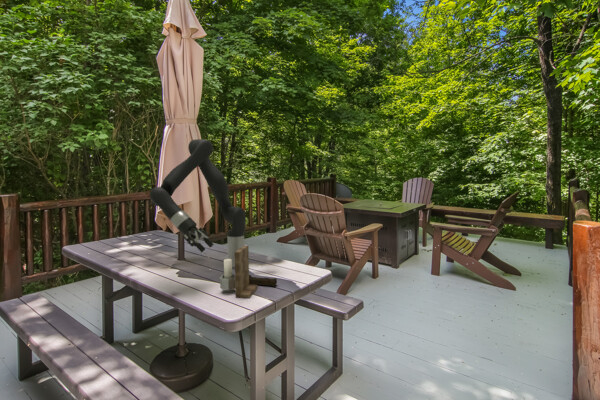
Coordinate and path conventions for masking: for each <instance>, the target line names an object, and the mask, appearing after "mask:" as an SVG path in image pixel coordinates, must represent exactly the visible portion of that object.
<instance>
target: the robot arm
mask: <svg viewBox="0 0 600 400" xmlns="http://www.w3.org/2000/svg"><path fill="white" fill-rule="evenodd" d="M213 151H214V145H213V144H212V142H211V141H210V140H207V139H199V138H197V139H196V138H195V139H192V140H191V141H190V142H189V143H188V152H189V154H190V155H189V157H187V158H186V159H184V161H181V162H180V164H178V165H177V166H175V167H174V168H173V169H171V170H170V172H169V173H168V174H167V175H166V176H165V178H163V181H162V184H161V185H160V186H155V187H153V188H152V189H151V190H150V192H149V198H150V200H151V203H152V204H153V205H154V206H156V207H159V208H160V210H162V212H163V214H164V216H165V217H166V218H167V219H168V220H170V222H171V223H172V225H173V226H174V227H175V228H176V229H177V230H178V231H179V232H180V233H181V234H182V236H183V239H184V240H185V241H186V243H187V244H189V246H190V247H193V246H194V247H196V249H198V250H199V251H200V253H203V252H204V251H206V248H205V247H204V246H203V245H202V244H201V242H200V241H203V242H204V243H205V244H206V245H207V246H208V247H209V248H212V247H214V243H213V242H212V241H211V239H209V238H210V235H209V234H208V233H207V231H206V230H205V229H203V227H199V228H198V227H197V222H195V220H193V219H192V217H191V216H190V215H189V214H188V213H187V212H186V211H184V210H183V209H182V208H181V206H180V205H178V204H177V202H175V201H174V199H173V198H172V196H173V194H174V192H175V191H176V190H177V189H178V187H179V186H180V185H181V184H182V183H183V182H184V181H185V180H186V179H187V177H188V176H189V175H190V174H191V173H193V171H194V170H195V169H196V168H199V169H200V172H201V173H202V175H203V178H204V179H205V181H206V183H207V185H208V187H209V189H210V191H211V192H212V194H213V196H214V198H215V200H216V202H217V204H218V206H219V208H220V212H221V214H222V216H223V218H224V220H225V221H226V222H227V223H230V224H232V228H230V229H228V230H227V233H226V234H227V235H226V237H227V259H232V268H235V252H236V251H237V250H239V249H240V248H241V247H243V246H245V230H246V220H247V219H246V218H247V217H246V211H245V210H244V208H242V207H237V206H233V204H232V203H231V200H230V197H229V192H230V191H229V190H230V189H229V184H228V182H227V179H226V177H225V175H224V173H222V172H221V170H219V169H218V168H217V166H215V165H214V163H213V162H212V161H211V159H210V158H209V157H210V156H211V155H212V154H213Z"/></svg>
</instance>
